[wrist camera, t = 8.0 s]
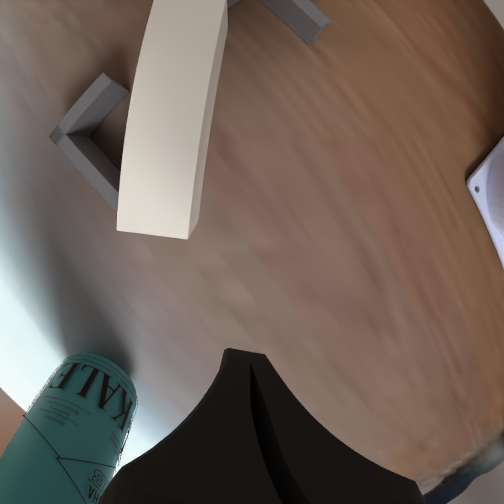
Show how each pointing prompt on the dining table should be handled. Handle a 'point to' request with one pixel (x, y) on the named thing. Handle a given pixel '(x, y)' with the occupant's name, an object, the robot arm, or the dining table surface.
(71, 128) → the end cap
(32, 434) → the beverage bottle
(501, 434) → the dining table surface
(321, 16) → the end cap
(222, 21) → the cream rectangular block
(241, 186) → the dining table surface
